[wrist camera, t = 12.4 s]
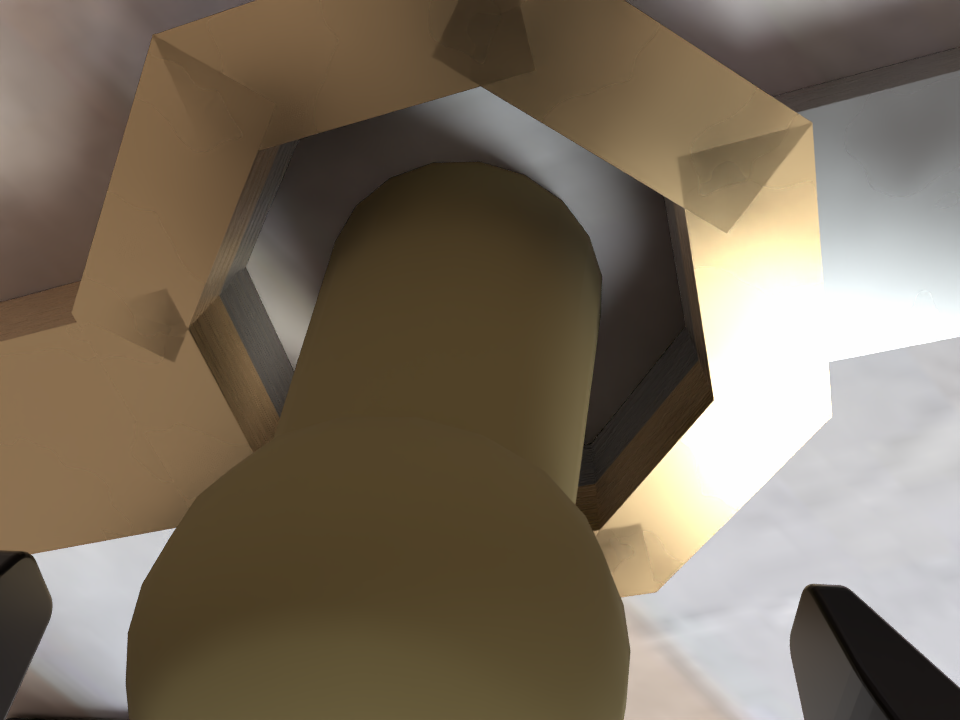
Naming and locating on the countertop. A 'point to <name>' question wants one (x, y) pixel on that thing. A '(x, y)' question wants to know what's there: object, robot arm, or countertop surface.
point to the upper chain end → (363, 95)
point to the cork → (408, 489)
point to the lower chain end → (842, 223)
